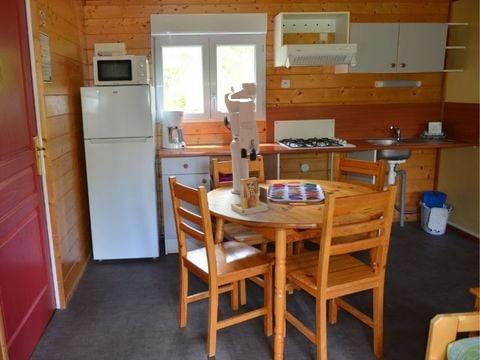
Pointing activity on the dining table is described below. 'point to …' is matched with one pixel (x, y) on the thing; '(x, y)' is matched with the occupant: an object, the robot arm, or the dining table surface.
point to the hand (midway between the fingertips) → (248, 159)
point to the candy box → (249, 192)
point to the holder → (262, 194)
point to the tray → (242, 211)
